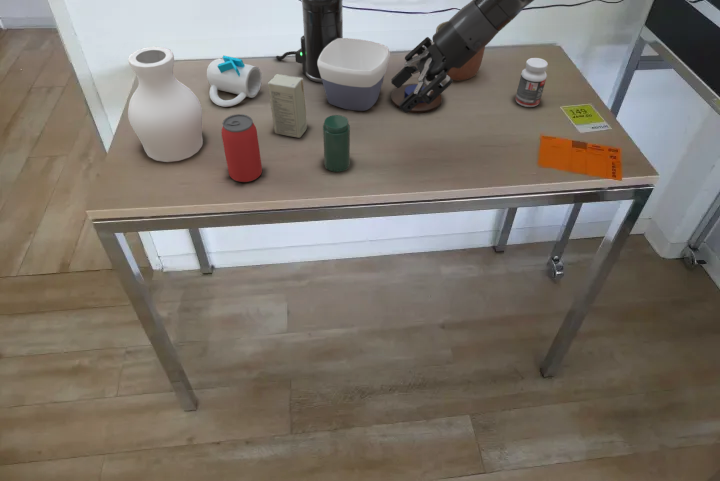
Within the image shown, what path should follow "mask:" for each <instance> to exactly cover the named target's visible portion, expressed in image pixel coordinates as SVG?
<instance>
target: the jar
mask: <svg viewBox="0 0 720 481" xmlns="http://www.w3.org/2000/svg"><path fill="white" fill-rule="evenodd" d="M322 137H323V139H322V141H323V159H324V160H323V164H324V168H325V169H326V170H328V171H330V172H333V173H340V172H345V171H346V170H348V169H349V167H350V166H351V165H350V164H351V125H350V124H349V119H348V118H347V117H346V116H344V115H341V114H333V115H329V116H327V117H326V118H325V119H324V122H323V125H322Z"/></svg>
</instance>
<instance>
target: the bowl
mask: <svg viewBox="0 0 720 481" xmlns="http://www.w3.org/2000/svg"><path fill="white" fill-rule="evenodd" d="M390 58H391V51H390V48H389V47H388V46H387V45H385V44H381V43H379V42H375V41H371V40H366V39H361V38H360V39H359V38H350V37H349V38H348V37H343V38H338V39H336V40H334V41H332V42H331V43H329V44H328V45H327V46H326V47H325V48H324V49H323V51H322V52H321V54H320V56H319V58H318V61H317V65H318V69H319V72H320V76H321V78H322V82H323V83H322V85H323V88H324V92H325V95H326V99H327V102H328V104H330V105H332V106H334V107H337V108H340V109H343V110H349V111H359V112H363V111H367V110H370V109H371V108H372V107H373V106H374V105H375V104H376V103H377V101H378V99H379V96H380V92H381V89H382V85H383V83H384V82H383V81H384V79H385V75H386V72H387V68H388V65H389V61H390Z"/></svg>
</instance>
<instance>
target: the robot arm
mask: <svg viewBox="0 0 720 481" xmlns="http://www.w3.org/2000/svg"><path fill="white" fill-rule="evenodd" d="M534 1H535V0H470V2H468V3H467V4H465V5H464V6H463V7H462V8H460V9H459V10H458V11H457V12H456V13H455V14H454V15H453V16H452V17H451V18H450V19H449V20H447V21H448V22H447V23H446V24H445V25H444V26H443V27H442V28H441V29H440V30H438V31H437V32H436V31H435V33H434V34H433V35H432V38H430V37H428V36H427V37H425V38H424V39H423V40H422V41H421V42H420V43H419V44H417V45H416V46H415V47H414V48H413V49H412V50H410V51H409V52H408V53H407V54H406V55H405V57H404V60H405V62H404V64H403V67H402V69H400V70H399V71H398V72H397V73H395V75H394V76H392V78H391V80H390V82H391V85H393V86H394V87H396V88H400V87H401V86H402V85H405V83H407V81H409V80H410V79H411V78H412V77H413V75H415V74H418V73H419V77H418V79H417V84H418V85H417V87H416V89H415V90H414V92H412V93H410V94H409V95H408V96H407V97H406V98H405V99H404V100H403V101H402V102H401V103H400V104H399V107H400V109H401V110H400V109H399V110H400V111H402V112H403V113H405V114H408V113H410V112H409V111H410V110H412V108H414V107H415V106H416V105H417V104H418V103H419V102H421V101H424V102H426V103H427V104H430V103H432V102H433V101H434V100H435V99H436V98H437V97H438V96H439V95H441V94H442V93H443V92H444V91H446V90H447V89H448V88H449V87H450V86H451V85H452V84H453V82H454V80H452V79H451V78H450V77H449V76H448V75H447V73H448V72H449V70H450V69H451V68H453V67H455V68H457V69H459V68H461V67H462V66H463V65H465V64H466V63H467V62H468V61H469V60H470V59H471V58H472V57H473V56H475V55H476V54H477V53H478V52H479V51H480V50H481V49H482V48H484V47H485V48H486V46H487V45H488V44H490V42H491V41H492V40H493V39H494V38H495V36H497V34H499V32H500V31H503V29H504V28H505V27H506V26H508V25H509V23H511V22H512V21H513V20H514V19H516V17H517V16H518V15H519V14H520V13H521V12H522V11H523V9H525V8H526V7H527V6H529V5H530V4H531V3H533V2H534ZM301 4H302V5H301V8H302V23H303V24H302V25H303V35H302V36H301V37H300V48H299V49H298V50H294V51H293V50H292V51H291V50H290V51H287V52H285V53H283V54H282V55H276V56H275V58H276V60H280V61H282V60H284V59H285V58H286V57H288V56H293V55H294V57H295V62H296V63H298V64H301V69H302V75H304V76H305V77H306V78H307V79H309V80H310V81H312V82H315V83H319V84H320V83H322V84H323V82H322V78H321V76H320V72H319V69H318V65H317V61H318V58H319V56H320V54H321V52H322V51H323V49H324V48H325V47H326V46H327V45H328V44H329V43H331V42H332V41H334V40H336V39H338V38H344V36H343V32H344V31H343V28H344V27H343V26H344V25H343V21H344V20H343V0H301ZM423 86H424V87H425V88H424V89H423V90H422V88H423ZM431 91H434V93H432V94H431V95H430V96H429V94H430V92H431Z"/></svg>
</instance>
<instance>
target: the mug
mask: <svg viewBox="0 0 720 481" xmlns="http://www.w3.org/2000/svg"><path fill="white" fill-rule="evenodd" d="M206 80H207V82H208V83H209V85H210V88H209V99H210V100H211V101H212V103H214V105H216V106H219V107H224V108H228V107H234V106H236V105H238V104H239V103H241V102H242V101H244V99H246V98H251V99H253V98H256V96H257V95H258V94H259V92H260V89H261V88H262V83H263V82H262V80H263V76H262V71H261V69H260V68H259V66H256V65H252V64H247V63H244V61H243V59H242V58H237V57H233V56H227V55H223V56H222V58H215V59H213V60H212V61H211V62H210V63H209V64H208V66H207V69H206ZM218 91H221V92H226V93H230V94H234V95H237V96H235V97H234V98H231V99H222V98H221V97H220V96H219V94H218Z"/></svg>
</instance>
